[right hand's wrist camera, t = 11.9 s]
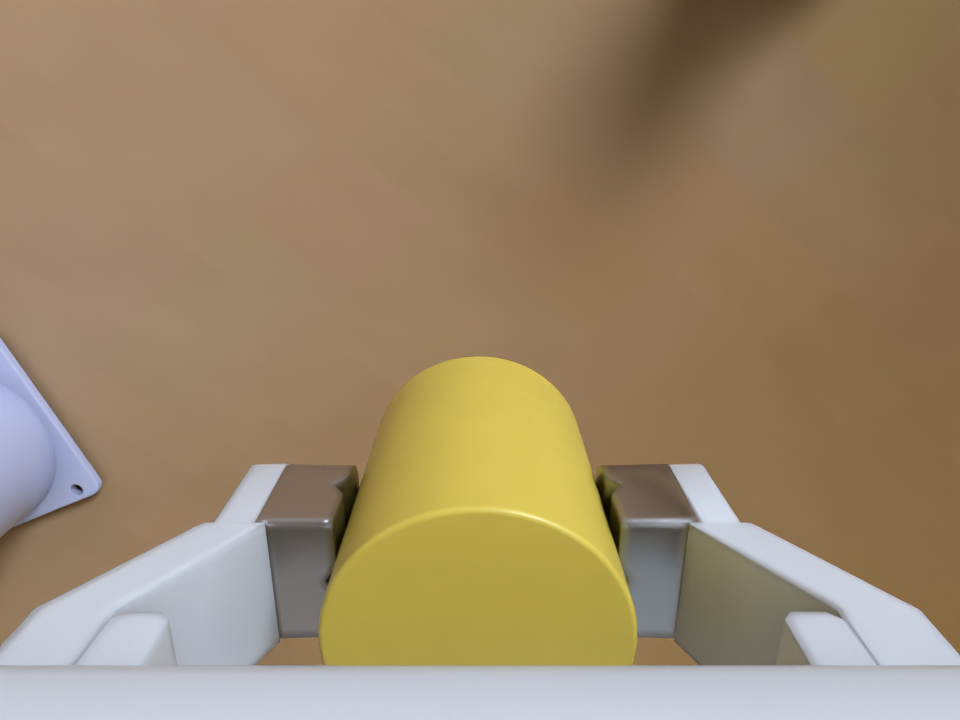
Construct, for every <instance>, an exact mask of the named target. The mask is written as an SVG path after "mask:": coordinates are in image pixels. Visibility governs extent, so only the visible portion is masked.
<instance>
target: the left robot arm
mask: <svg viewBox="0 0 960 720" xmlns="http://www.w3.org/2000/svg"><path fill="white" fill-rule="evenodd" d="M76 485H79V486H80V487H81V488H82V489H83V490H79V489H78V488H77V487H76ZM101 487H102V481H101V478H100V477H99V476H98V474H97V473H96V471H95V470H94V468H93V467H92V466H91V464H90V463H89V461H88V460H87V459H86V457H85V456H84V454H83V453H82V452H81V450H80V449H79V447H78V446H77V445H76V443H75V442H74V440H73V439H72V438H71V436H70V435H69V433H68V432H67V431H66V429H65V428H64V426H63V425H62V424H61V422H60V421H59V419H58V418H57V416H56V415H55V414H54V412H53V411H52V409H51V408H50V407H49V405H48V404H47V402H46V401H45V400H44V398H43V397H42V395H41V394H40V393H39V391H38V390H37V388H36V387H35V386H34V384H33V383H32V381H31V380H30V379H29V377H28V376H27V374H26V373H25V372H24V370H23V369H22V367H21V366H20V364H19V363H18V362H17V360H16V359H15V357H14V356H13V355H12V353H11V352H10V350H9V349H8V348H7V346H6V345H5V343H4V342H3V341H2V339H1V338H0V538H1V537H2V536H3V535H4V534H5V533H6V532H7V531H9V530H10V529H11V528H12V527H15V526H17V525H20V524H22V523H25V522H27V521H30V520H32V519H35V518H37V517H39V516H42V515H44V514H47V513H49V512H52V511H54V510H57V509H59V508H62V507H64V506H67V505H69V504H72V503H74V502H77V501H79V500H82V499H84V498H87V497H89V496H92V495H94V494H95V493H97V492H98V491H99V490H100V489H101Z"/></svg>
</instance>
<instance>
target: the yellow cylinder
mask: <svg viewBox="0 0 960 720" xmlns="http://www.w3.org/2000/svg"><path fill="white" fill-rule="evenodd" d="M318 639H319V647H320V653H321V658H322V662H323V665H632V664H633V661H634V657H635V651H636V645H637V619H636V612H635V607H634V604H633V600H632V597H631V594H630V591H629V588H628V584H627V581H626V578H625V575H624V572H623V569H622V565H621V562H620V559H619V556H618V553H617V550H616V546H615V543H614V540H613V537H612V534H611V530H610V527H609V524H608V521H607V518H606V515H605V511H604V508H603V505H602V502H601V499H600V495H599V492H598V489H597V486H596V483H595V480H594V476H593V473H592V470H591V467H590V464H589V460H588V457H587V454H586V451H585V448H584V445H583V441H582V438H581V435H580V432H579V429H578V426H577V423H576V419H575V416H574V414H573V412H572V410H571V408H570V406H569V404H568V403H567V402H566V400H565V399H564V397H563V396H562V394H561V393H560V392H559V391H558V390H557V389H556V388H555V387H554V386H553V385H552V384H551V383H550V382H549V381H547V380H546V379H545V378H544V377H543V376H541V375H539V374H538V373H536V372H534V371H533V370H531V369H529V368H527V367H525V366H523V365H520V364H518V363H515V362H512V361H508V360H505V359H499V358H494V357H480V356H476V357H463V358H458V359H453V360H448V361H445V362H442V363H439V364H436V365H434V366H432V367H430V368H428V369H426V370H424V371H422V372H421V373H419V374H418V375H416V376H415V377H413V378H412V379H411V380H410V381H408V382H407V383H406V384H405V385H404V386H403V387H402V388H401V389H400V390H399V391H398V392H397V393H396V395H395V396H394V397H393V399H392V400H391V402H390V403H389V405H388V406H387V408H386V410H385V413H384V415H383V417H382V419H381V423H380V426H379V429H378V432H377V435H376V438H375V441H374V444H373V447H372V450H371V454H370V457H369V460H368V463H367V466H366V469H365V472H364V475H363V478H362V481H361V484H360V488H359V491H358V494H357V497H356V500H355V503H354V506H353V509H352V512H351V515H350V519H349V522H348V525H347V528H346V531H345V534H344V537H343V540H342V543H341V546H340V549H339V553H338V556H337V559H336V562H335V565H334V568H333V571H332V574H331V577H330V580H329V584H328V587H327V590H326V593H325V596H324V599H323V603H322V606H321V609H320V616H319V623H318Z"/></svg>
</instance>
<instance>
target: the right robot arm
mask: <svg viewBox="0 0 960 720" xmlns="http://www.w3.org/2000/svg"><path fill="white" fill-rule="evenodd" d="M596 486H597V489H598V492H599V495H600V499H601V502H602V505H603V508H604V511H605V515H606V518H607V521H608V524H609V527H610V530H611V534H612V537H613V540H614V543H615V546H616V550H617V553H618V556H619V559H620V562H621V565H622V569H623V572H624V575H625V578H626V581H627V584H628V588H629V591H630V594H631V597H632V600H633V604H634V607H635V612H636V619H637V637H650V638H675V640H674V641H675V642H676V643H677V644H678V645H679V646H680V647H681V648H682V649H683V650H684V651H685V652H687V653H688V654H689V655H690V656H691V657H692V658H693V659H694V660H695V661H696V662H697V663H698V664H699V665H256V664H257V663H258V662H259V661H260V660H261V659H262V658H263V657H264V656H265V655H266V654H267V653H268V652H269V651H270V650H271V649H272V648H274V647H275V646H276V645H277V644H278V643H279V642H280V639H279V638H303V637H318V623H319V616H320V609H321V606H322V603H323V599H324V596H325V593H326V590H327V587H328V584H329V580H330V577H331V574H332V571H333V568H334V565H335V562H336V559H337V556H338V553H339V549H340V546H341V543H342V540H343V537H344V534H345V531H346V528H347V525H348V522H349V519H350V515H351V512H352V509H353V506H354V503H355V500H356V497H357V494H358V491H359V488H360V487H359V477H358V471H357V468H356V466H355V465H301V464H290V465H288V464H257V465H252V466H251V467H250V468H249V470H248V471H247V473H246V474H245V476H244V477H243V479H242V481H241V482H240V484H239V485H238V487H237V488H236V490H235V491H234V493H233V494H232V496H231V497H230V499H229V500H228V502H227V503H226V505H225V506H224V508H223V509H222V511H221V512H220V514H219V515H218V517H217V518H216V520H215V521H214V523H202V524H200V525H198V526H196V527H194V528H192V529H190V530H188V531H186V532H184V533H182V534H180V535H178V536H176V537H174V538H172V539H170V540H168V541H166V542H164V543H162V544H160V545H159V546H157V547H155V548H153V549H151V550H149V551H147V552H145V553H143V554H141V555H139V556H137V557H135V558H133V559H131V560H129V561H127V562H125V563H123V564H121V565H119V566H117V567H115V568H113V569H111V570H110V571H108V572H106V573H104V574H102V575H100V576H98V577H96V578H94V579H92V580H90V581H88V582H86V583H84V584H82V585H80V586H78V587H76V588H74V589H72V590H70V591H68V592H66V593H64V594H62V595H61V596H59V597H57V598H55V599H53V600H51V601H49V602H47V603H45V604H43V605H41V606H39V607H37V608H35V609H34V610H33V611H32V612H31V613H30V614H29V615H28V616H27V617H26V619H25V620H24V621H23V622H22V623H21V624H20V625H19V626H18V627H17V628H16V630H15V631H14V632H13V633H12V634H11V635H10V636H9V637H8V638H7V639H6V641H5V642H4V643H3V644H2V645H1V646H0V720H960V655H959V654H958V653H957V651H956V650H955V649H954V648H953V647H952V646H951V645H950V644H949V642H948V641H947V640H946V639H945V638H944V637H943V636H942V635H941V633H940V632H939V631H938V630H937V629H936V628H935V627H934V625H933V624H932V623H931V622H930V621H929V620H928V619H927V618H926V616H925V615H924V614H923V613H922V612H921V611H920V610H919V609H917V608H915V607H913V606H911V605H909V604H907V603H905V602H903V601H901V600H900V599H898V598H896V597H894V596H892V595H890V594H888V593H886V592H884V591H882V590H880V589H878V588H876V587H874V586H872V585H870V584H869V583H867V582H865V581H863V580H861V579H859V578H857V577H855V576H853V575H851V574H849V573H847V572H845V571H843V570H841V569H840V568H838V567H836V566H834V565H832V564H830V563H828V562H826V561H824V560H822V559H820V558H818V557H816V556H814V555H812V554H810V553H809V552H807V551H805V550H803V549H801V548H799V547H797V546H795V545H793V544H791V543H789V542H787V541H785V540H783V539H781V538H780V537H778V536H776V535H774V534H772V533H770V532H768V531H766V530H764V529H762V528H760V527H758V526H756V525H754V524H752V523H740V521H739V520H738V518H737V517H736V515H735V514H734V512H733V511H732V509H731V508H730V506H729V505H728V503H727V501H726V500H725V498H724V497H723V495H722V494H721V492H720V491H719V489H718V488H717V486H716V485H715V483H714V482H713V480H712V479H711V477H710V475H709V474H708V472H707V471H706V469H705V468H704V466H702V465H700V464H698V463H696V464H674V465H668V464H654V465H613V466H600V467H598V472H597V477H596Z"/></svg>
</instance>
